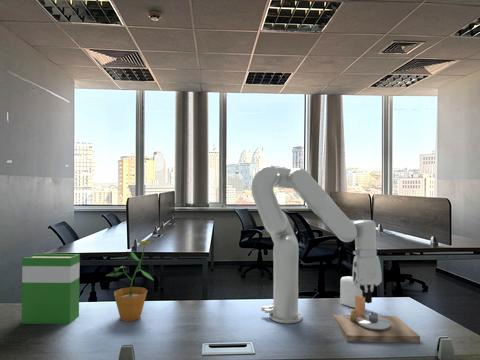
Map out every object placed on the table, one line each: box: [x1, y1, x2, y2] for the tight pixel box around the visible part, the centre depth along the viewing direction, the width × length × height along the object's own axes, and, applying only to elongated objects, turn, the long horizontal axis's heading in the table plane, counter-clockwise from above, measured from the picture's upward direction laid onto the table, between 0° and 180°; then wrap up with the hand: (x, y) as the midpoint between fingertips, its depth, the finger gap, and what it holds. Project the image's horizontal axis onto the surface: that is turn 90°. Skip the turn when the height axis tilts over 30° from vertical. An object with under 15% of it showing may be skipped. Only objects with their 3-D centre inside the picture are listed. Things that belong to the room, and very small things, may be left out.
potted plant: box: [104, 240, 154, 322], centre depth 135 cm, size 18×19×30 cm
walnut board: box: [332, 308, 421, 343], centre depth 125 cm, size 24×18×6 cm
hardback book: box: [21, 253, 81, 325], centre depth 132 cm, size 18×7×24 cm, turn 90°
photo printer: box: [339, 275, 362, 309], centre depth 150 cm, size 10×4×12 cm, turn 39°
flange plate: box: [354, 295, 390, 331], centre depth 126 cm, size 14×11×8 cm
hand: (367, 301), depth 132 cm, fingers closed
